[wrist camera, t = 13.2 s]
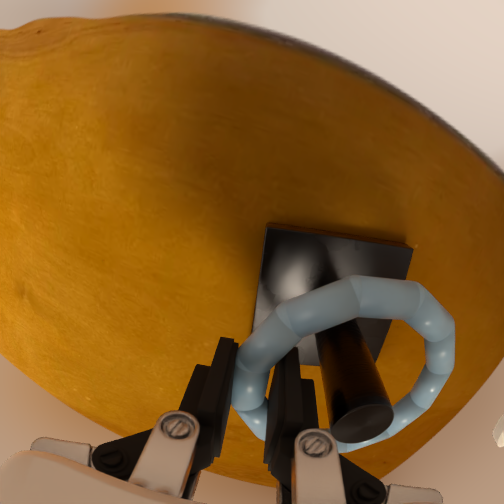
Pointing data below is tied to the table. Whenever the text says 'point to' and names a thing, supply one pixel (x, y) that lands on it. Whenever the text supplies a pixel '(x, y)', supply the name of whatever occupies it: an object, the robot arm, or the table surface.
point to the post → (340, 336)
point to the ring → (334, 313)
